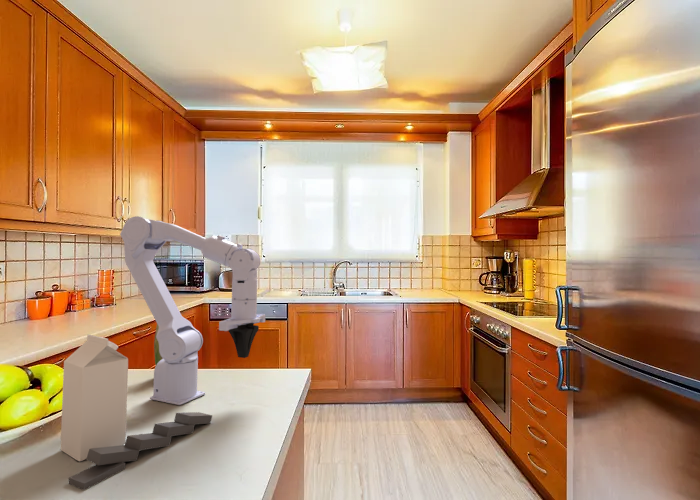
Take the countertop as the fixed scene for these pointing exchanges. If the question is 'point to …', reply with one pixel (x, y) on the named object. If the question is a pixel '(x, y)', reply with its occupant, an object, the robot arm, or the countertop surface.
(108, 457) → the domino
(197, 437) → the countertop surface
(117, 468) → the domino end
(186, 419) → the domino
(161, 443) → the domino
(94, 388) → the milk carton
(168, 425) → the domino
